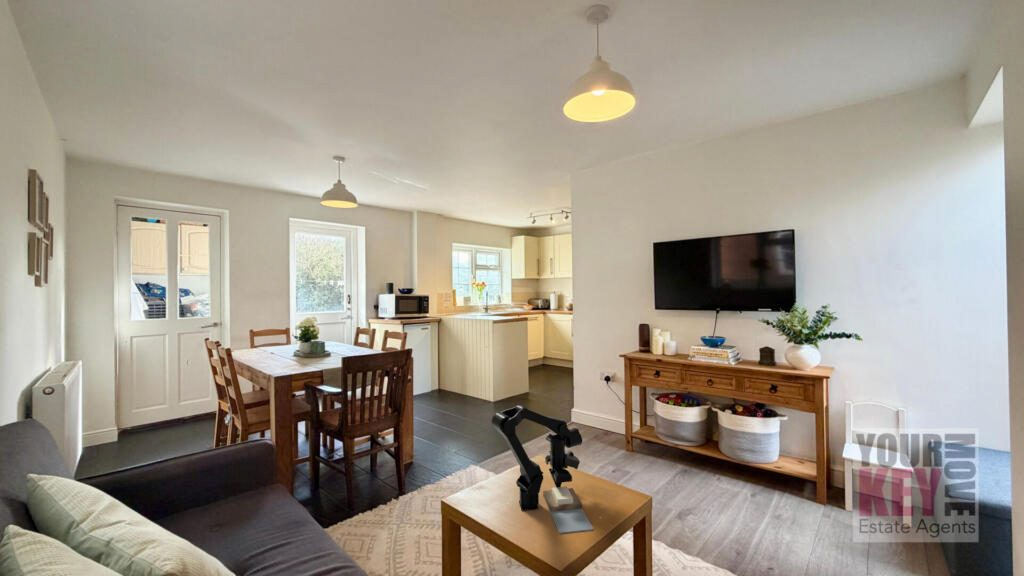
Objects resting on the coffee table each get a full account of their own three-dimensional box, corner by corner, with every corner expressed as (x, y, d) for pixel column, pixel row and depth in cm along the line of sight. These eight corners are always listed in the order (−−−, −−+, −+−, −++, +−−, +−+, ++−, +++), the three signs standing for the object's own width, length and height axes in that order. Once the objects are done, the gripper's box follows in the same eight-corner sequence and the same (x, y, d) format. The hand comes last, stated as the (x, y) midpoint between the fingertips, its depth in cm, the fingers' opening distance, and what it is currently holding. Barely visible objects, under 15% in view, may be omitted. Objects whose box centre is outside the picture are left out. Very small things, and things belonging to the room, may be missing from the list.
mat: (559, 533, 141) (559, 532, 141) (550, 512, 154) (550, 511, 154) (593, 530, 143) (593, 528, 143) (582, 509, 156) (582, 508, 156)
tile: (557, 504, 155) (557, 499, 155) (551, 492, 164) (551, 487, 164) (573, 503, 156) (573, 498, 156) (566, 491, 165) (566, 486, 165)
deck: (550, 512, 154) (550, 507, 154) (543, 495, 166) (543, 490, 166) (581, 509, 156) (581, 504, 156) (572, 493, 168) (572, 488, 168)
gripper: (585, 458, 158) (585, 499, 158) (570, 439, 176) (571, 476, 176) (556, 461, 156) (556, 502, 156) (544, 441, 174) (545, 479, 175)
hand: (558, 489), depth 166 cm, fingers closed
